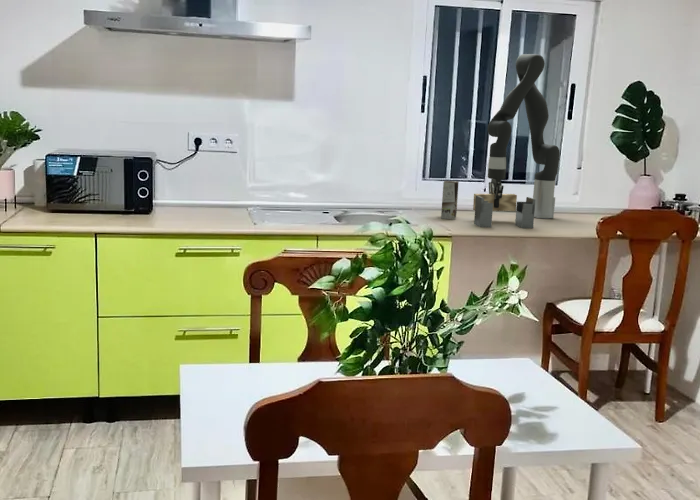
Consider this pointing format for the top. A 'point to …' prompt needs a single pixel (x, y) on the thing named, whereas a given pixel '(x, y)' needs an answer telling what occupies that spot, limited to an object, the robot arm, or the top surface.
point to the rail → (504, 203)
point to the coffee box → (449, 199)
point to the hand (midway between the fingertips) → (494, 206)
